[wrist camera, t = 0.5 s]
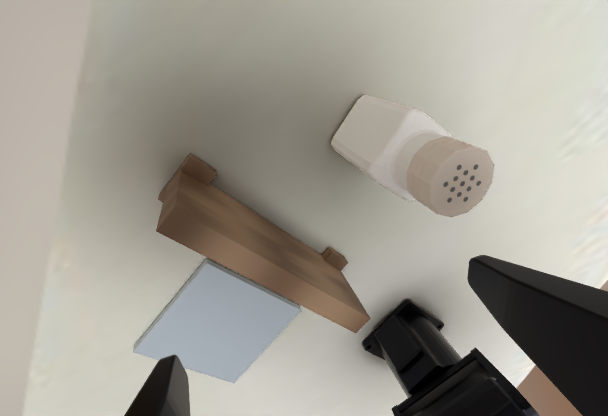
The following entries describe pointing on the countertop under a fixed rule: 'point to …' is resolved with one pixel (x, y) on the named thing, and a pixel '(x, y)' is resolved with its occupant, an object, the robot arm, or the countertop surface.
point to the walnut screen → (255, 246)
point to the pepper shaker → (414, 156)
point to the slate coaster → (218, 323)
